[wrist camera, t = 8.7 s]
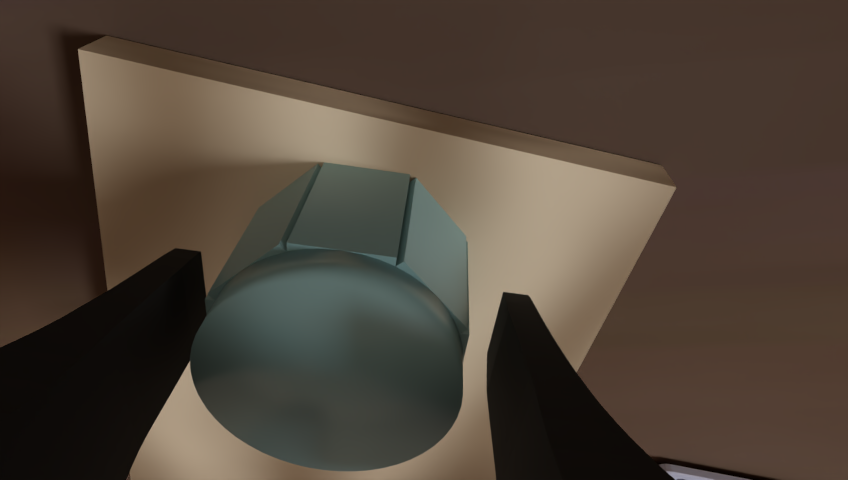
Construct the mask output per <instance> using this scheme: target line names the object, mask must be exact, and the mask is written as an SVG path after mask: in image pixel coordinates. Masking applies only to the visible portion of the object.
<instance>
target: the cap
mask: <svg viewBox="0 0 848 480" xmlns="http://www.w3.org/2000/svg"><path fill="white" fill-rule="evenodd" d="M409 180H410V174H404V173H397V172H390V171H383V170H376V169H369V168H362V167H354V166H347V165H340V164H333V163H326V162H324V163H323V166H322V168H321V167H320V166H319V165H318V164H317V165H315V166H314V167H313V168H311V169H310V170H309V171H307V172H306V173H305V174H303V175H302V176H301V177H299V178H298V179H297V180H295V181H294V182H293V183H291V184H290V185H289V186H287V187H286V188H285V189H283V190H282V191H281V192H279V193H278V194H277V195H275V196H274V197H272V198H271V199H270V200H268V201H267V202H266V203H264V204H263V205H262V206H260V207H259V208H258V210H257V211H256V213H255V215H254V217H253V218H252V220H251V222H250V223H249V225H248V227H247V228H246V230H245V232H244V233H243V235H242V237H241V238H240V240H239V242H238V243H237V245H236V247H235V248H234V250H233V252H232V253H231V255H230V257H229V258H228V260H227V262H226V264H225V265H224V267H223V269H222V270H221V272H220V274H219V275H218V277H217V279H216V280H215V282H214V284H213V285H212V287H211V289H210V290H209V292H208V295H207V297H206V298H205V305H206V314H207V316H206V317H205V319H204V321H203V323H202V324H201V326H200V328H199V330H198V331H197V333H196V335H195V338H194V341H193V344H192V347H191V354H190V370H191V375H192V379H193V383H194V386H195V388H196V391H197V393H198V395H199V397H200V399H201V400H202V402H203V404H204V405H205V407H206V408H207V409H208V411H209V412H210V413H211V414H212V416H213V417H214V418H215V419H216V420H217V421H218V422H219V423H220V424H221V425H222V426H223V427H224V428H225V429H227V430H228V431H229V432H230V433H232V434H233V435H234V436H235V437H237V438H238V439H240V440H241V441H243V442H244V443H246V444H248V445H249V446H251V447H253V448H255V449H257V450H259V451H261V452H262V453H265V454H267V455H269V456H272V457H274V458H277V459H279V460H282V461H286V462H289V463H292V464H295V465H300V466H304V467H308V468H314V469H320V470H328V471H367V470H374V469H380V468H386V467H389V466H393V465H397V464H400V463H403V462H405V461H408V460H411V459H413V458H415V457H417V456H419V455H421V454H423V453H424V452H426V451H427V450H429V449H430V448H432V447H433V446H435V445H436V444H437V443H438V442H439V441H440V440H441V439H442V438H444V436H445V435H446V434H447V433H448V432H449V430H450V429H451V428H452V426H453V424H454V423H455V421H456V419H457V417H458V414H459V411H460V409H461V405H462V398H463V360H464V356H465V352H466V347H467V343H468V339H469V335H470V334H469V284H468V241H466V235H465V234H464V233H463V232H462V231H461V230H460V228H459V227H458V226H457V225H456V224H455V223H454V221H453V220H452V219H451V218H450V217H449V216H448V214H447V213H446V212H445V211H444V210H443V208H442V207H441V206H440V205H439V204H438V203H437V201H436V200H435V199H434V198H433V197H432V196H431V194H430V193H429V192H428V191H427V190H426V188H425V187H424V186H423V185H422V184H421V183H420V181H419V180H418V179H417V178H415V179H413V180H412V181H410V182H409Z"/></svg>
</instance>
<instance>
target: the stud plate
mask: <svg viewBox="0 0 848 480" xmlns="http://www.w3.org/2000/svg"><path fill="white" fill-rule="evenodd" d="M78 54H79V62H80V70H81V78H82V87H83V95H84V103H85V111H86V119H87V127H88V136H89V144H90V152H91V160H92V168H93V176H94V185H95V193H96V201H97V209H98V217H99V225H100V233H101V242H102V250H103V258H104V266H105V274H106V282H107V291H108V290H110V289H111V288H113V287H115V286H116V285H118V284H119V283H121V282H122V281H124V280H126V279H127V278H129V277H130V276H132V275H133V274H135V273H137V272H138V271H140V270H141V269H143V268H144V267H146V266H147V265H149V264H150V263H152V262H153V261H155V260H157V259H158V258H160V257H161V256H163V255H164V254H166V253H168V252H169V251H171V250H173V249H174V248H179V249H187V250H194V251H201V255H202V264H203V273H204V281H205V290H206V297H207V295H208V292H209V290H210V289H211V287H212V285H213V284H214V282H215V280H216V279H217V277H218V275H219V274H220V272H221V270H222V269H223V267H224V265H225V264H226V262H227V260H228V258H229V257H230V255H231V253H232V252H233V250H234V248H235V247H236V245H237V243H238V242H239V240H240V238H241V237H242V235H243V233H244V232H245V230H246V228H247V227H248V225H249V223H250V222H251V220H252V218H253V217H254V215H255V213H256V211H257V210H258V208H259V207H260V206H262V205H263V204H264V203H266V202H267V201H268V200H270V199H271V198H272V197H274V196H275V195H277V194H278V193H279V192H281V191H282V190H283V189H285V188H286V187H287V186H289V185H290V184H291V183H293V182H294V181H295V180H297V179H298V178H299V177H301V176H302V175H303V174H305V173H306V172H307V171H309V170H310V169H311V168H313V167H314V166H315V165H317V164H318V165H319V166H320V167H321V168H322V166H323V163H324V162H326V163H333V164H340V165H347V166H354V167H362V168H369V169H376V170H383V171H390V172H397V173H404V174H410V180H409V182H410V181H412V180H413V179H415V178H417V179H418V180H419V181H420V183H421V184H422V185H423V186H424V187H425V188H426V190H427V191H428V192H429V193H430V194H431V196H432V197H433V198H434V199H435V200H436V201H437V203H438V204H439V205H440V206H441V207H442V208H443V210H444V211H445V212H446V213H447V214H448V216H449V217H450V218H451V219H452V220H453V221H454V223H455V224H456V225H457V226H458V227H459V228H460V230H461V231H462V232H463V233H464V234H465V235H466V241H468V284H469V334H470V335H469V339H468V343H467V347H466V352H465V356H464V360H463V398H462V405H461V409H460V411H459V414H458V417H457V419H456V421H455V423H454V424H453V426H452V428H451V429H450V430H449V432H448V433H447V434H446V435H445V436H444V438H442V439H441V440H440V441H439V442H438V443H437V444H436V445H435V446H433V447H432V448H430V449H429V450H427V451H426V452H424V453H423V454H421V455H419V456H417V457H415V458H413V459H411V460H408V461H405V462H403V463H400V464H397V465H393V466H389V467H386V468H380V469H374V470H367V471H328V470H320V469H314V468H308V467H304V466H300V465H295V464H292V463H289V462H286V461H282V460H279V459H277V458H274V457H272V456H269V455H267V454H265V453H262V452H261V451H259V450H257V449H255V448H253V447H251V446H249V445H248V444H246V443H244V442H243V441H241V440H240V439H238V438H237V437H235V436H234V435H233V434H232V433H230V432H229V431H228V430H227V429H225V428H224V427H223V426H222V425H221V424H220V423H219V422H218V421H217V420H216V419H215V418H214V417H213V416H212V414H211V413H210V412H209V411H208V409H207V408H206V407H205V405H204V404H203V402H202V400H201V399H200V397H199V395H198V393H197V391H196V388H195V386H194V383H193V379H192V375H191V370H190V361H189V363H188V365H187V367H186V369H185V370H184V372H183V374H182V376H181V377H180V379H179V381H178V383H177V384H176V386H175V388H174V389H173V391H172V393H171V395H170V396H169V398H168V400H167V402H166V403H165V405H164V407H163V408H162V410H161V412H160V414H159V415H158V417H157V419H156V420H155V422H154V424H153V426H152V427H151V429H150V431H149V433H148V434H147V436H146V438H145V440H144V442H143V444H142V446H141V448H140V450H139V452H138V454H137V456H136V458H135V461H134V463H133V465H132V467H131V470H130V478H131V480H496V473H495V464H494V455H493V446H492V437H491V429H490V420H489V410H488V401H487V351H488V347H489V344H490V340H491V336H492V332H493V328H494V325H495V321H496V317H497V313H498V309H499V306H500V302H501V298H502V294H503V292H509V293H516V294H524V295H529V297H530V298H531V299H532V301H533V303H534V305H535V306H536V308H537V310H538V312H539V314H540V315H541V317H542V319H543V321H544V322H545V324H546V326H547V328H548V329H549V331H550V333H551V334H552V336H553V338H554V339H555V341H556V342H557V344H558V346H559V347H560V349H561V350H562V352H563V353H564V355H565V356H566V358H567V359H568V361H569V362H570V364H571V365H572V367H573V368H574V370H575V371H576V372H577V371H578V369H579V367H580V365H581V363H582V361H583V360H584V358H585V356H586V354H587V352H588V350H589V348H590V347H591V345H592V343H593V341H594V339H595V337H596V335H597V334H598V332H599V330H600V328H601V326H602V324H603V322H604V321H605V319H606V317H607V315H608V313H609V311H610V310H611V308H612V306H613V304H614V302H615V300H616V298H617V297H618V295H619V293H620V291H621V289H622V287H623V285H624V284H625V282H626V280H627V278H628V276H629V274H630V273H631V271H632V269H633V267H634V265H635V263H636V261H637V260H638V258H639V256H640V254H641V252H642V250H643V248H644V247H645V245H646V243H647V241H648V239H649V237H650V236H651V234H652V232H653V230H654V228H655V226H656V224H657V223H658V221H659V219H660V217H661V215H662V213H663V211H664V210H665V208H666V206H667V204H668V202H669V200H670V199H671V197H672V195H673V193H674V191H675V189H676V186H675V184H674V183H673V181H672V180H671V179H670V177H669V176H668V174H667V173H666V171H665V170H664V168H663V167H662V165H658V164H654V163H650V162H645V161H641V160H637V159H632V158H628V157H624V156H620V155H615V154H611V153H607V152H602V151H598V150H594V149H590V148H585V147H581V146H577V145H573V144H568V143H564V142H560V141H555V140H551V139H547V138H543V137H538V136H534V135H530V134H526V133H521V132H517V131H513V130H508V129H504V128H500V127H496V126H491V125H487V124H483V123H478V122H474V121H470V120H466V119H461V118H457V117H453V116H449V115H444V114H440V113H436V112H431V111H427V110H423V109H419V108H414V107H410V106H406V105H401V104H397V103H393V102H389V101H384V100H380V99H376V98H372V97H367V96H363V95H359V94H354V93H350V92H346V91H342V90H337V89H333V88H329V87H324V86H320V85H316V84H312V83H307V82H303V81H299V80H295V79H290V78H286V77H282V76H277V75H273V74H269V73H265V72H260V71H256V70H252V69H248V68H243V67H239V66H235V65H230V64H226V63H222V62H218V61H213V60H209V59H205V58H200V57H196V56H192V55H188V54H183V53H179V52H175V51H171V50H166V49H162V48H158V47H153V46H149V45H145V44H141V43H136V42H132V41H128V40H123V39H119V38H115V37H111V36H105V37H102V38H100V39H98V40H96V41H94V42H92V43H90V44H88V45H85V46H83V47H81V48H79V49H78Z"/></svg>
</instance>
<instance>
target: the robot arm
mask: <svg viewBox="0 0 848 480" xmlns="http://www.w3.org/2000/svg"><path fill="white" fill-rule="evenodd" d="M205 298H206V290H205V281H204V273H203V264H202V255H201V251H194V250H187V249H179V248H174V249H173V250H171V251H169V252H168V253H166V254H164V255H163V256H161V257H160V258H158V259H157V260H155V261H153V262H152V263H150V264H149V265H147V266H146V267H144V268H143V269H141V270H140V271H138V272H137V273H135V274H133V275H132V276H130V277H129V278H127V279H126V280H124V281H122V282H121V283H119V284H118V285H116V286H115V287H113V288H111V289H110V290H108V291H107V292H105V293H103V294H102V295H100V296H98V297H97V298H95V299H93V300H91V301H90V302H88V303H86V304H84V305H83V306H81V307H79V308H77V309H76V310H74V311H72V312H71V313H69V314H67V315H65V316H64V317H62V318H60V319H58V320H56V321H54V322H52V323H51V324H49V325H47V326H45V327H43V328H41V329H39V330H37V331H35V332H33V333H31V334H29V335H26V336H24V337H22V338H20V339H18V340H16V341H14V342H12V343H9V344H7V345H5V346H3V347H1V348H0V480H126V479H127V476H128V474H129V472H130V470H131V467H132V465H133V463H134V461H135V458H136V456H137V454H138V452H139V450H140V448H141V446H142V444H143V442H144V440H145V438H146V436H147V434H148V433H149V431H150V429H151V427H152V426H153V424H154V422H155V420H156V419H157V417H158V415H159V414H160V412H161V410H162V408H163V407H164V405H165V403H166V402H167V400H168V398H169V396H170V395H171V393H172V391H173V389H174V388H175V386H176V384H177V383H178V381H179V379H180V377H181V376H182V374H183V372H184V370H185V369H186V367H187V365H188V363H189V361H190V354H191V347H192V344H193V341H194V338H195V335H196V333H197V331H198V330H199V328H200V326H201V324H202V323H203V321H204V319H205V317H206V316H207V314H206V305H205ZM487 401H488V410H489V420H490V429H491V437H492V446H493V455H494V464H495V473H496V480H751V479H746V478H740V477H735V476H730V475H725V474H719V473H714V472H709V471H704V470H698V469H693V468H688V467H683V466H678V465H672V464H659V465H658V464H657V463H656V462H655V461H654V460H653V459H652V458H651V457H650V456H649V455H648V454H647V453H646V452H645V451H644V450H643V449H641V448H640V447H639V446H638V445H637V444H636V443H635V442H634V441H633V440H632V439H631V438H630V437H629V436H628V435H627V433H626V432H625V431H624V430H623V429H622V428H621V427H620V426H619V425H618V424H617V423H616V422H615V420H614V419H613V418H612V417H611V416H610V415H609V414H608V412H607V411H606V410H605V409H604V408H603V407H602V406H601V404H600V403H599V402H598V401H597V399H596V398H595V397H594V396H593V394H592V393H591V392H590V390H589V389H588V388H587V386H586V385H585V384H584V382H583V381H582V380H581V378H580V377H579V376H578V374H577V373H576V371H575V370H574V368H573V367H572V365H571V364H570V362H569V361H568V359H567V358H566V356H565V355H564V353H563V352H562V350H561V349H560V347H559V346H558V344H557V342H556V341H555V339H554V338H553V336H552V334H551V333H550V331H549V329H548V328H547V326H546V324H545V322H544V321H543V319H542V317H541V315H540V314H539V312H538V310H537V308H536V306H535V305H534V303H533V301H532V299H531V298H530V297H529V295H524V294H516V293H509V292H503V294H502V298H501V302H500V306H499V309H498V313H497V317H496V321H495V325H494V328H493V332H492V336H491V340H490V344H489V347H488V351H487Z"/></svg>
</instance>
